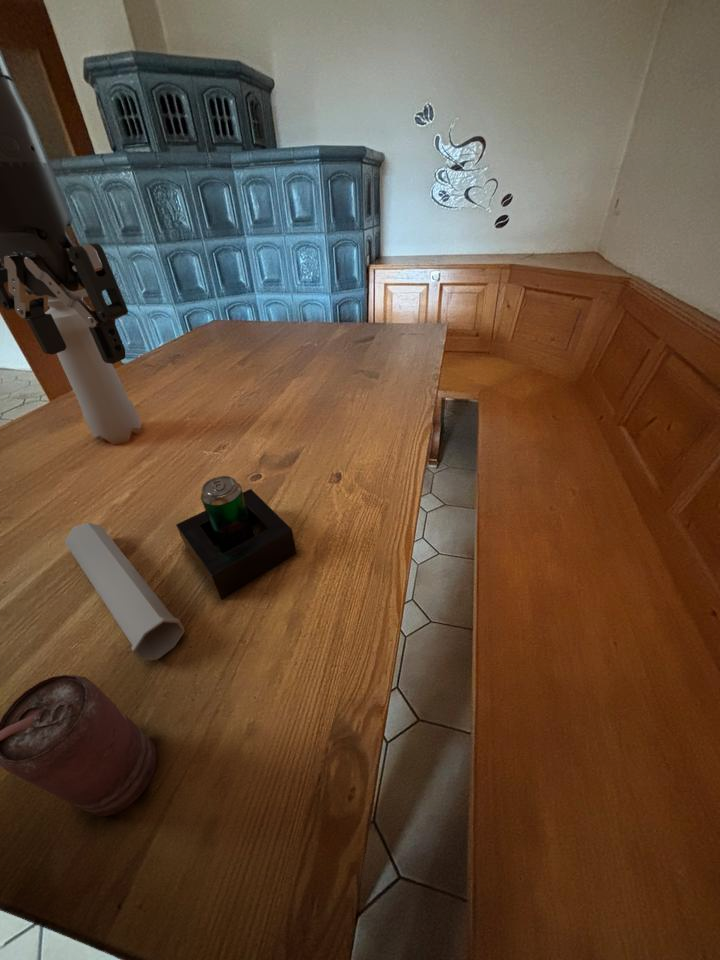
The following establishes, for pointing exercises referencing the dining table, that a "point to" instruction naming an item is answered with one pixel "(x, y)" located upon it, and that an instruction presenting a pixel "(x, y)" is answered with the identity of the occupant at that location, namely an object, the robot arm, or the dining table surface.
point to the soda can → (226, 512)
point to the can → (76, 745)
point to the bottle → (93, 379)
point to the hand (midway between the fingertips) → (85, 356)
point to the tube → (124, 592)
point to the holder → (239, 547)
